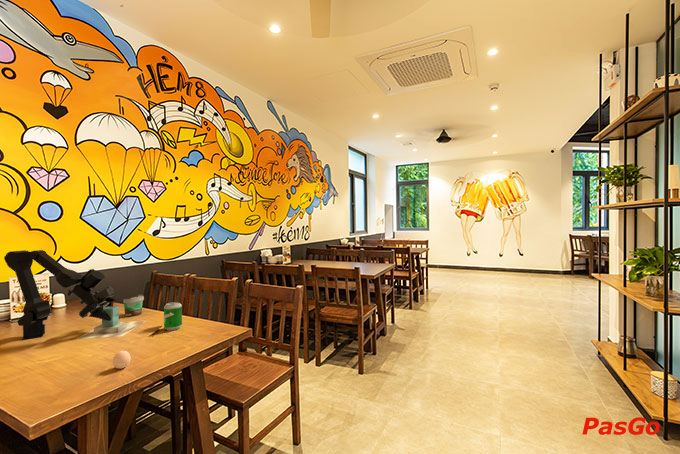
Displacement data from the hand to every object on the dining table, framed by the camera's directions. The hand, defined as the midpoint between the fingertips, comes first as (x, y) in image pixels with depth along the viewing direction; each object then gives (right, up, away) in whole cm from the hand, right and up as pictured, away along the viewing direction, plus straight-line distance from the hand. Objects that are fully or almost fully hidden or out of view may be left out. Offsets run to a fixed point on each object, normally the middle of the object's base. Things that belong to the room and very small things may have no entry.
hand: (113, 318), depth 140 cm
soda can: (+23, -7, +7) cm, 25 cm away
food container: (-10, -7, +31) cm, 34 cm away
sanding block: (-1, -6, 0) cm, 6 cm away
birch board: (-2, -7, +2) cm, 8 cm away
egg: (+28, -7, -34) cm, 44 cm away
